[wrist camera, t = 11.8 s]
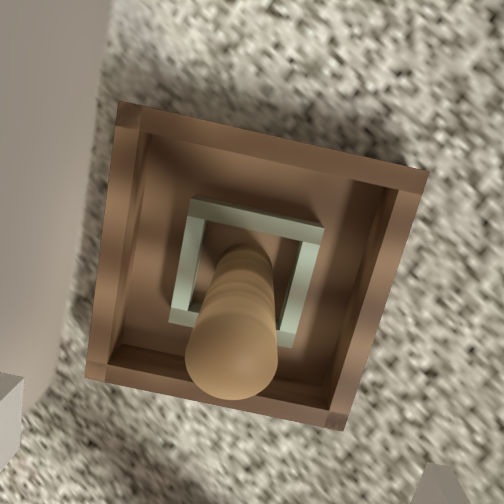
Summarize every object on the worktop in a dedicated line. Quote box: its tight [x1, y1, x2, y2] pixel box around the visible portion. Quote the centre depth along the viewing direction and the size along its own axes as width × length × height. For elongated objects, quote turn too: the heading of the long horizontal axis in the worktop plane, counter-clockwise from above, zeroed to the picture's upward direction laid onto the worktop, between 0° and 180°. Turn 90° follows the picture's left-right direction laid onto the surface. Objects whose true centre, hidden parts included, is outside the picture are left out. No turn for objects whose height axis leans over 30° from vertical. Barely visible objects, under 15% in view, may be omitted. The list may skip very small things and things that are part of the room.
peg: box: [185, 243, 278, 400], centre depth 26 cm, size 4×4×14 cm
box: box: [84, 101, 429, 431], centre depth 31 cm, size 21×21×4 cm
